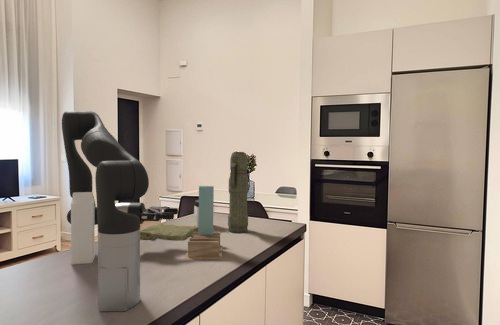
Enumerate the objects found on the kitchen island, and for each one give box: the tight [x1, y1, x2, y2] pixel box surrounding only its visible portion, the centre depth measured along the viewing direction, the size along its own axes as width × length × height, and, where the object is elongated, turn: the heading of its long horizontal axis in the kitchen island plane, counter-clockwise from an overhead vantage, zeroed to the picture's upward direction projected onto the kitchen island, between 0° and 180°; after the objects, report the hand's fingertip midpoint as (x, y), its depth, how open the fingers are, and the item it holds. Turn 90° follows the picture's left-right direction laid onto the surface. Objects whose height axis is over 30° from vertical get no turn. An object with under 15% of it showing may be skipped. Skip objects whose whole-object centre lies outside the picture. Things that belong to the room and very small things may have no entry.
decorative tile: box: [140, 223, 199, 241], centre depth 142 cm, size 19×20×4 cm
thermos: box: [227, 151, 249, 234], centre depth 151 cm, size 9×12×35 cm
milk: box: [70, 191, 96, 266], centre depth 108 cm, size 6×6×22 cm
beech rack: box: [184, 231, 224, 260], centre depth 118 cm, size 16×12×6 cm
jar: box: [193, 199, 199, 228], centre depth 160 cm, size 9×8×12 cm
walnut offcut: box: [193, 236, 217, 238], centre depth 118 cm, size 2×8×5 cm, turn 93°
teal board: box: [198, 185, 215, 235], centre depth 121 cm, size 2×5×22 cm, turn 93°
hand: (175, 213), depth 121 cm, fingers open, 8 cm apart
